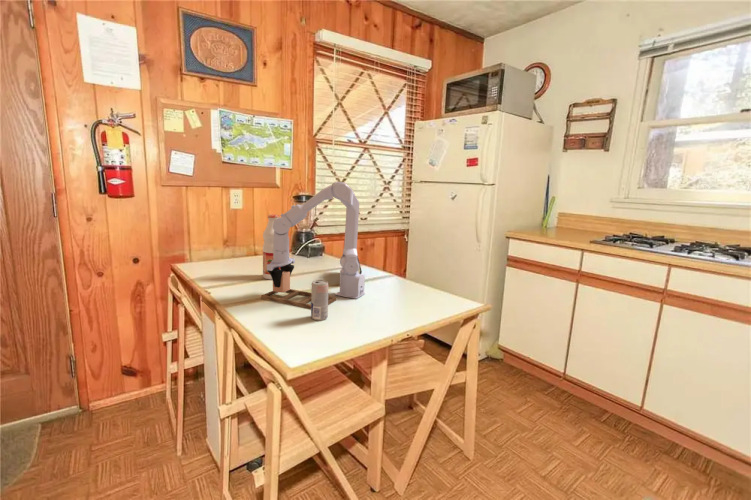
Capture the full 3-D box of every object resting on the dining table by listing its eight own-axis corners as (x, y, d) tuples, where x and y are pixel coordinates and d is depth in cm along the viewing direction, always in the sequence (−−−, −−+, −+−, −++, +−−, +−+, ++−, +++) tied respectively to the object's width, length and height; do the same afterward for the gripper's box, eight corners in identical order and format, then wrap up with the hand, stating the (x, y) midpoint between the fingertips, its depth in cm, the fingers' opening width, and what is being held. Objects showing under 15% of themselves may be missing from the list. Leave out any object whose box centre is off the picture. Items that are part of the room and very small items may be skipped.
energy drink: (319, 313, 122) (320, 279, 120) (331, 317, 119) (332, 282, 117) (307, 317, 118) (308, 282, 116) (318, 322, 115) (319, 285, 113)
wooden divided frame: (336, 300, 136) (336, 297, 136) (319, 310, 125) (319, 306, 125) (281, 290, 145) (281, 287, 145) (261, 298, 134) (261, 295, 134)
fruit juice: (277, 273, 170) (277, 213, 165) (288, 277, 164) (289, 215, 159) (258, 276, 163) (258, 214, 158) (270, 281, 157) (269, 216, 152)
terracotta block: (289, 289, 139) (290, 271, 138) (282, 292, 135) (282, 274, 134) (280, 287, 141) (280, 270, 139) (272, 290, 137) (272, 272, 135)
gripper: (284, 246, 143) (284, 279, 146) (259, 251, 130) (260, 288, 132) (299, 248, 140) (299, 281, 143) (275, 254, 127) (275, 291, 130)
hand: (281, 285), depth 138 cm, fingers closed on terracotta block, 4 cm apart
